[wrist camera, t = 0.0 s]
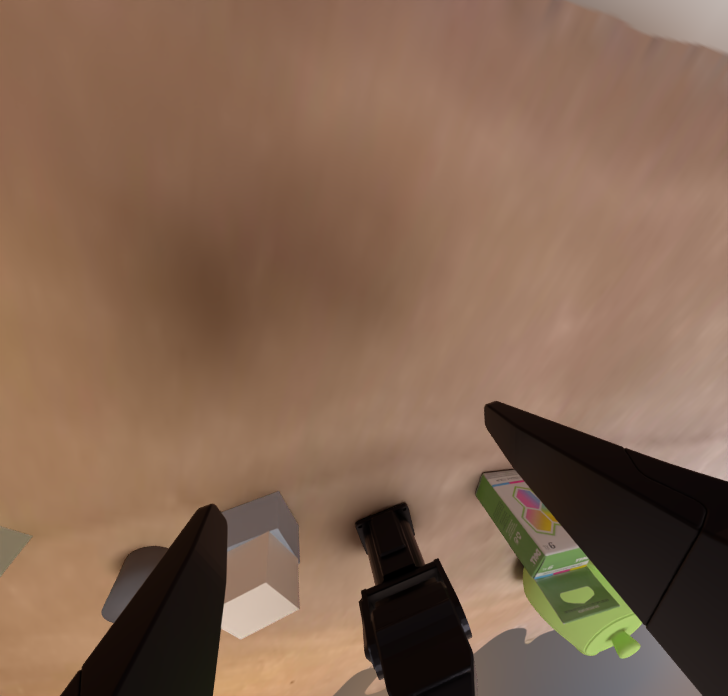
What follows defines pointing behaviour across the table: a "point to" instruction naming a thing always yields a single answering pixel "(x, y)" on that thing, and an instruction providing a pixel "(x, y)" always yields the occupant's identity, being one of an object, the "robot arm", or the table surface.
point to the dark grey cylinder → (131, 579)
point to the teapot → (589, 619)
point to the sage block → (10, 546)
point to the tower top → (259, 585)
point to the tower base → (263, 522)
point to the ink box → (541, 545)
